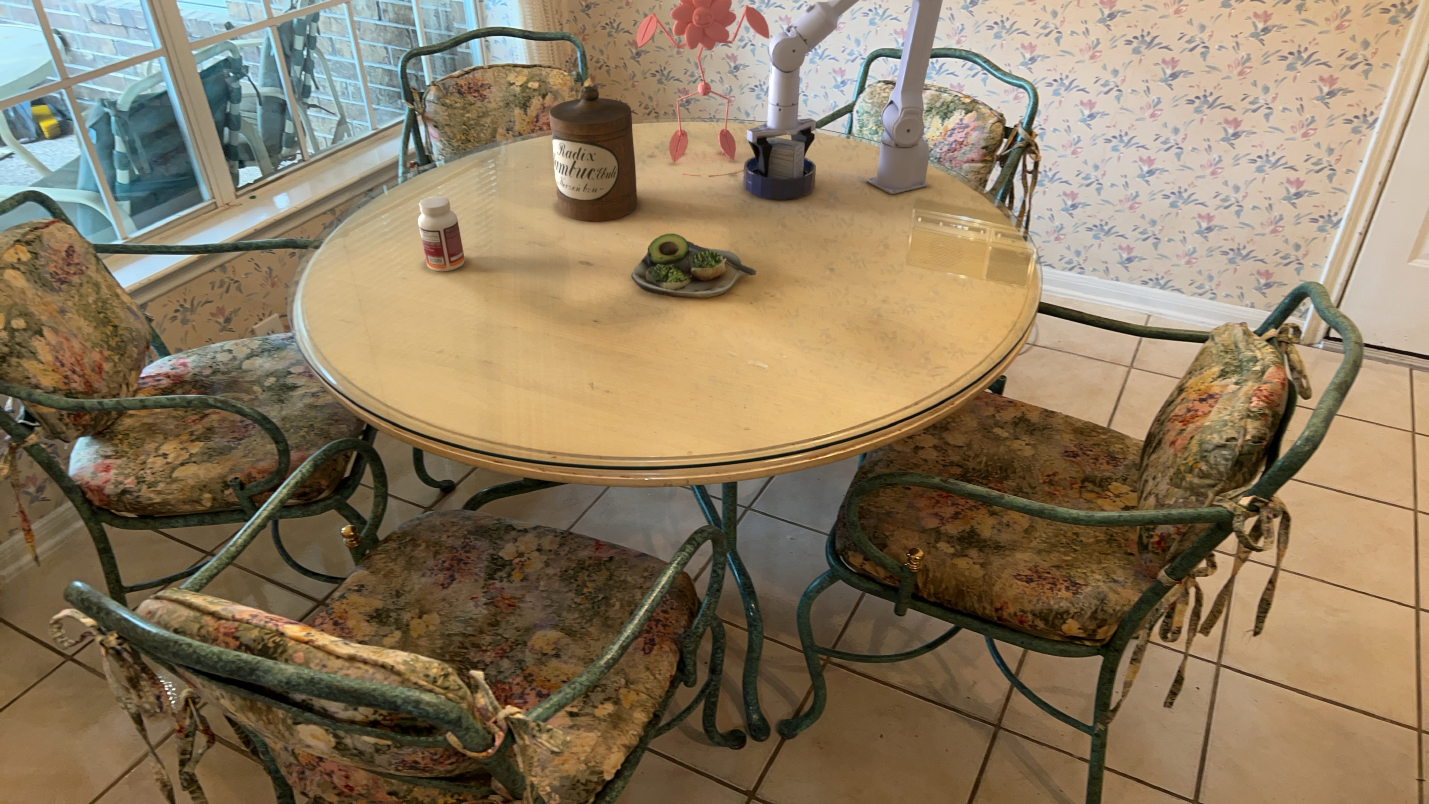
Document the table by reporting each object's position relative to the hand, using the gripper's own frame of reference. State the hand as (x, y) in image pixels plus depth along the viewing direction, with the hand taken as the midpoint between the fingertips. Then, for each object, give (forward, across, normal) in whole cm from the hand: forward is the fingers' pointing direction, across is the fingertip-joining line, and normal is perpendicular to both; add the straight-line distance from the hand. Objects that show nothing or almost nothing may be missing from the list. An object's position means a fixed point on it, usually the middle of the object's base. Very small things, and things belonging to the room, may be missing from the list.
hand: (779, 171), depth 177 cm
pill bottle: (+3, -67, -1) cm, 67 cm away
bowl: (+3, 0, 0) cm, 3 cm away
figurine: (+3, -7, +18) cm, 20 cm away
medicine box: (+3, 0, 0) cm, 3 cm away
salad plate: (+3, -34, -24) cm, 42 cm away
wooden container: (+3, -35, +9) cm, 36 cm away
